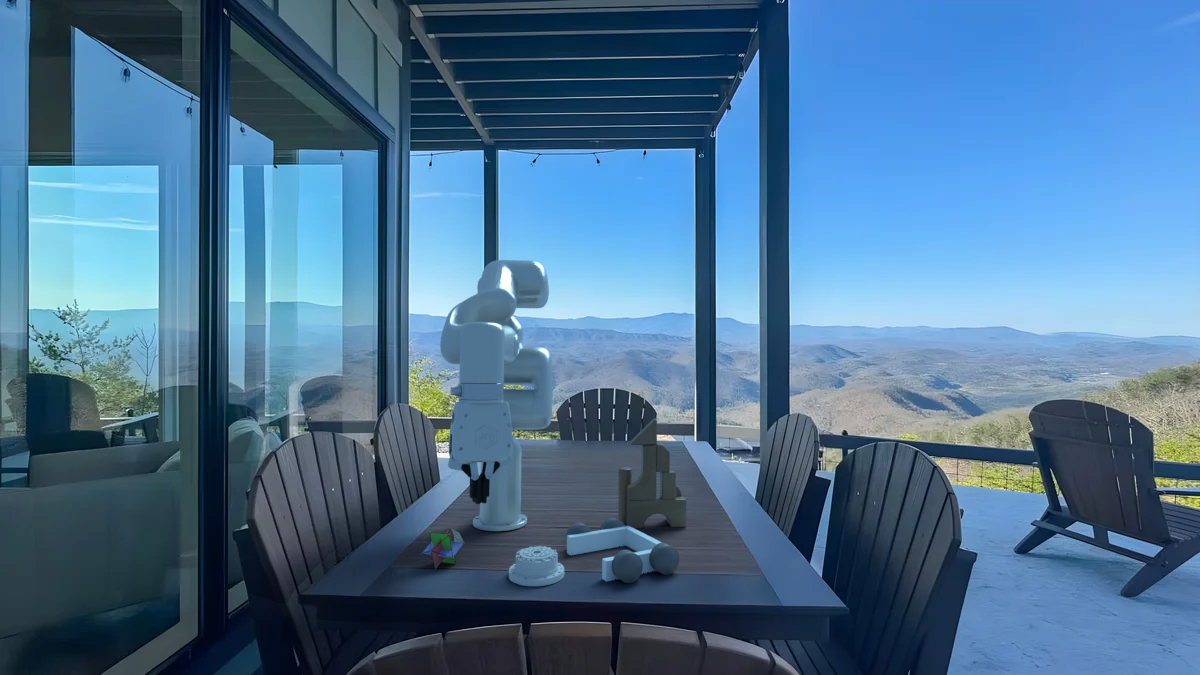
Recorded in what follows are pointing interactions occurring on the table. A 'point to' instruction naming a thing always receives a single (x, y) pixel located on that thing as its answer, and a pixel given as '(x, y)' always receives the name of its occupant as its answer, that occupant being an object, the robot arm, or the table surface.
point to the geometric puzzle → (443, 547)
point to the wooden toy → (650, 485)
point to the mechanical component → (536, 567)
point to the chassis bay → (624, 562)
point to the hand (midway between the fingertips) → (479, 501)
